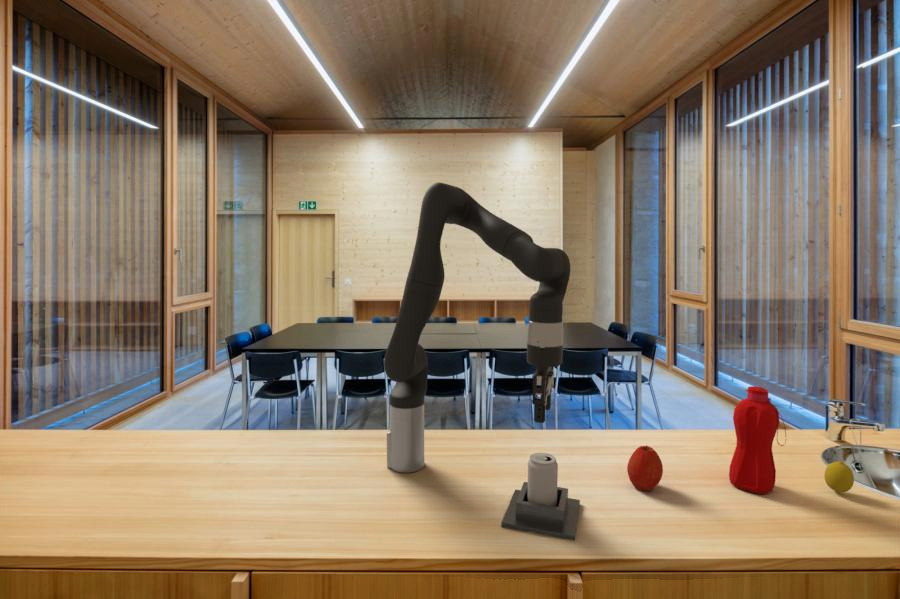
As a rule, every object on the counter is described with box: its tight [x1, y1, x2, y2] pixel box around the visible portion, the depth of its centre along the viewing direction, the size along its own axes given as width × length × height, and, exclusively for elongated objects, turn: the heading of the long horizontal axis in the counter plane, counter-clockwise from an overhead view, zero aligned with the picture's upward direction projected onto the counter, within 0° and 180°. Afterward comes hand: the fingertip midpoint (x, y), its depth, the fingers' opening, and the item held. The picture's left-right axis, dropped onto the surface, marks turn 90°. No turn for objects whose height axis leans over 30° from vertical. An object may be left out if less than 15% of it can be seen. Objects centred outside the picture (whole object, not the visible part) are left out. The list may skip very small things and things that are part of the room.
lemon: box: [824, 460, 855, 494], centre depth 118 cm, size 6×6×8 cm
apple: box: [626, 444, 664, 492], centre depth 120 cm, size 8×8×11 cm
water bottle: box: [728, 385, 787, 495], centre depth 120 cm, size 9×11×25 cm
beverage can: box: [527, 452, 559, 507], centre depth 107 cm, size 6×6×12 cm
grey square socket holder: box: [500, 481, 581, 541], centre depth 108 cm, size 15×15×4 cm
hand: (542, 415), depth 106 cm, fingers open, 8 cm apart
